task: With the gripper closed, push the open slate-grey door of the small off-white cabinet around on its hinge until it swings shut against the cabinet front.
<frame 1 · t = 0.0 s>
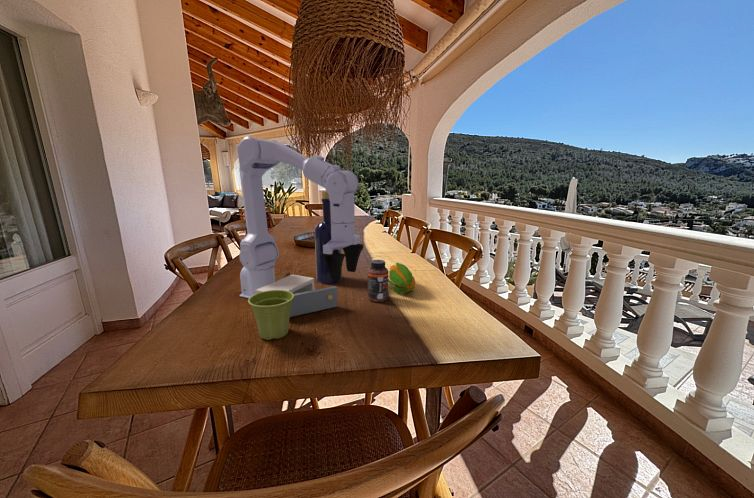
hand: (344, 275, 74), 10 cm above the table, tool pointing down, fingers open, 7 cm apart
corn: (398, 287, 95), on the table
plant pot: (274, 334, 66), on the table
door: (310, 302, 75), point 3 cm above the table, hinge at 35.0°
cabinet: (288, 304, 81), on the table
bottle: (329, 280, 101), on the table
supplement bottle: (377, 299, 86), on the table
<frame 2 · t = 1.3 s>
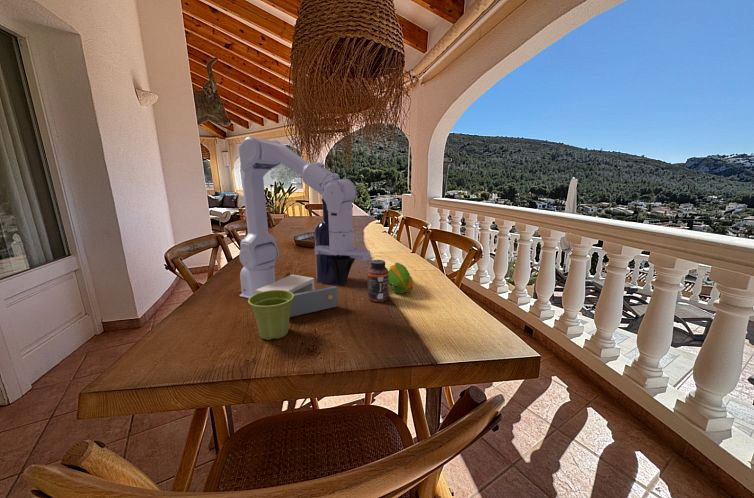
hand: (342, 284, 74), 8 cm above the table, tool pointing down, fingers closed
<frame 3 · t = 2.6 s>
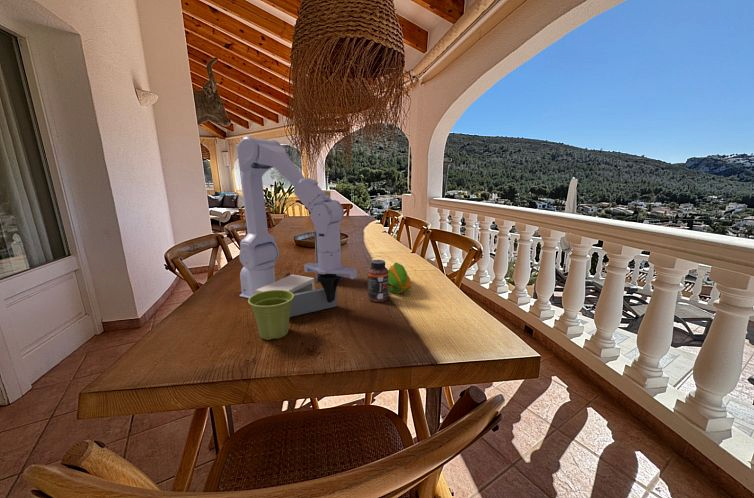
hand: (331, 301, 76), 3 cm above the table, tool pointing down, fingers closed, pressing on door
door: (310, 302, 75), point 3 cm above the table, hinge at 34.1°, touching gripper
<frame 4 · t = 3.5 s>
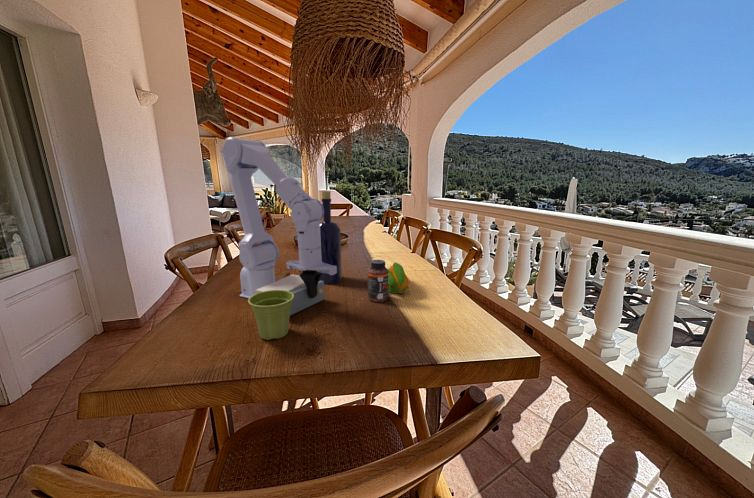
hand: (312, 296, 79), 3 cm above the table, tool pointing down, fingers closed
door: (304, 298, 78), point 3 cm above the table, hinge at 8.3°, touching gripper
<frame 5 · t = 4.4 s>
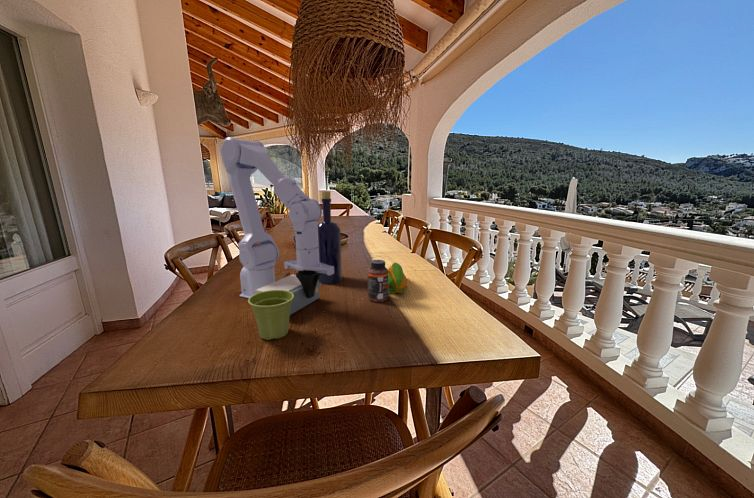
hand: (310, 296, 79), 3 cm above the table, tool pointing down, fingers closed
door: (301, 297, 78), point 3 cm above the table, hinge at 0.6°, touching gripper
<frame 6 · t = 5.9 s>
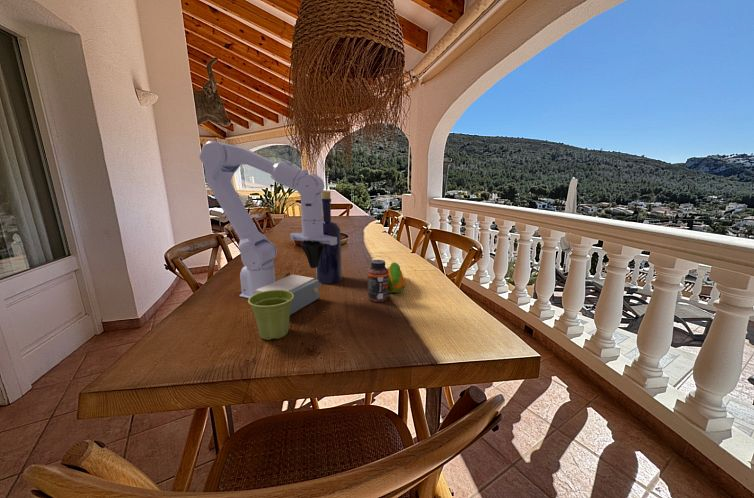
hand: (314, 267, 84), 9 cm above the table, tool pointing down, fingers closed
door: (301, 297, 78), point 3 cm above the table, hinge at 0.6°
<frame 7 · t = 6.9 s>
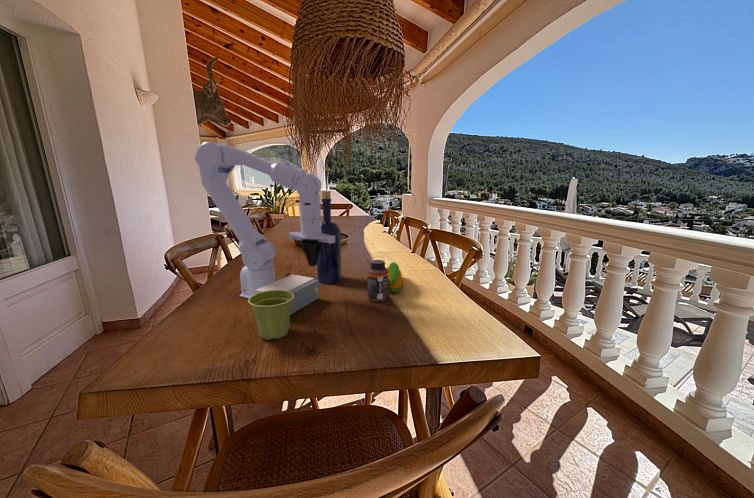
hand: (312, 265, 85), 9 cm above the table, tool pointing down, fingers closed
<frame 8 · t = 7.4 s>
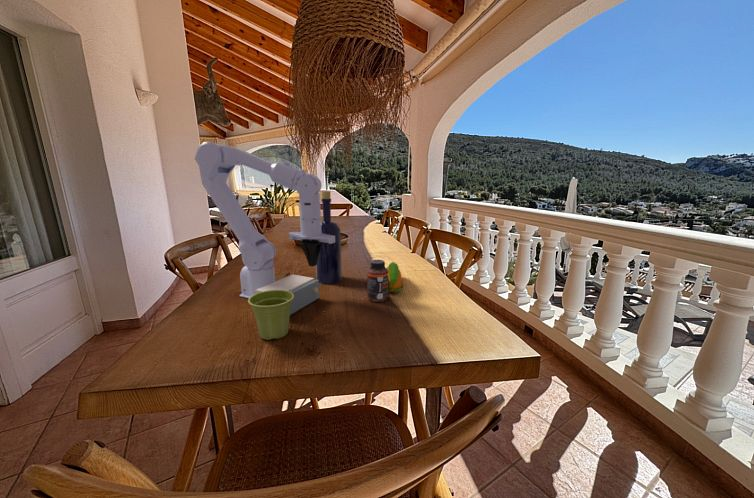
hand: (312, 265, 85), 9 cm above the table, tool pointing down, fingers closed
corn: (390, 286, 96), on the table, touching supplement bottle
supplement bottle: (377, 299, 85), on the table, touching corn
everything else where it was.
at the end: door at +1° (first picture: +35°) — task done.
